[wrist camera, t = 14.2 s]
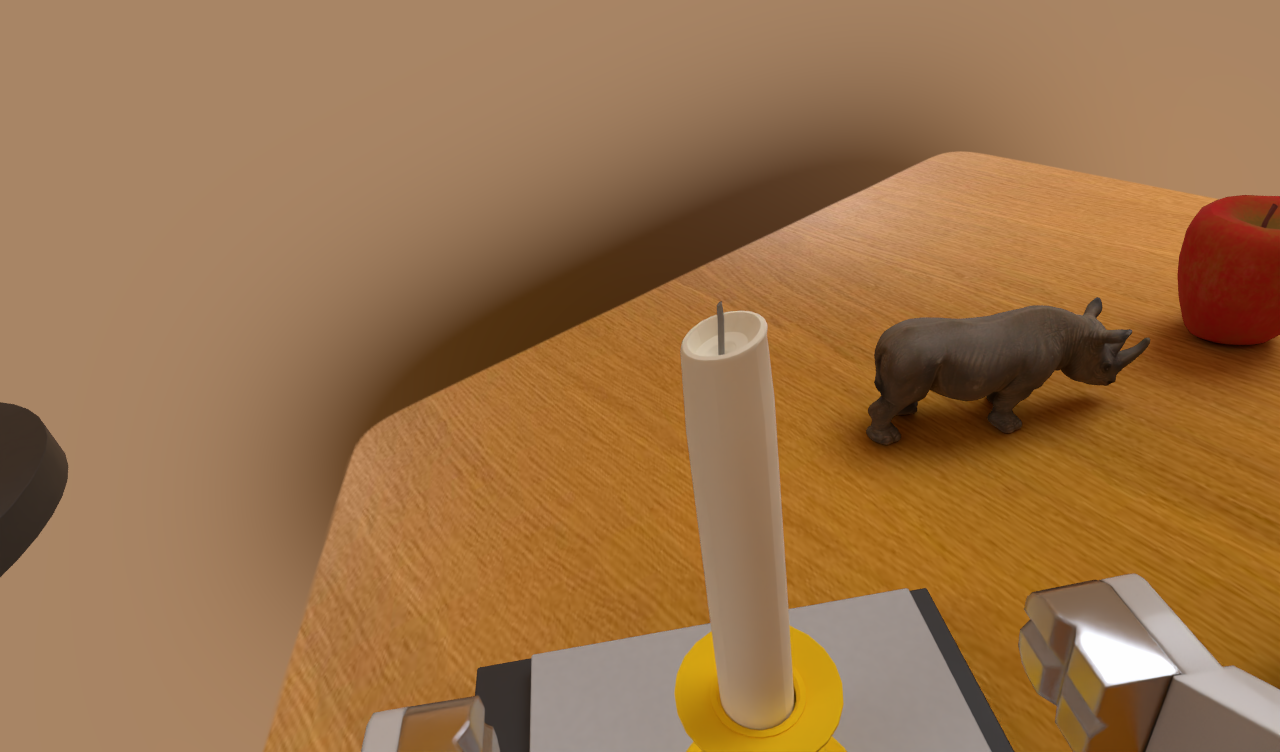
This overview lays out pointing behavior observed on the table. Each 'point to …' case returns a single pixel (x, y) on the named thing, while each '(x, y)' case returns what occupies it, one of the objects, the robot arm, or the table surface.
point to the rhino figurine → (991, 360)
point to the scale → (647, 665)
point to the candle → (745, 560)
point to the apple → (1232, 271)
